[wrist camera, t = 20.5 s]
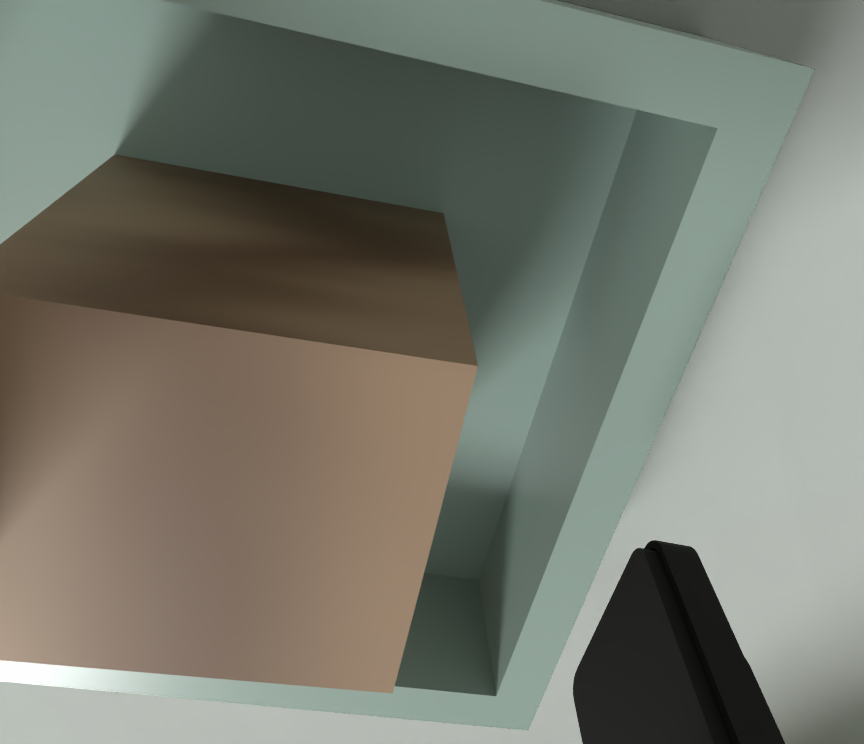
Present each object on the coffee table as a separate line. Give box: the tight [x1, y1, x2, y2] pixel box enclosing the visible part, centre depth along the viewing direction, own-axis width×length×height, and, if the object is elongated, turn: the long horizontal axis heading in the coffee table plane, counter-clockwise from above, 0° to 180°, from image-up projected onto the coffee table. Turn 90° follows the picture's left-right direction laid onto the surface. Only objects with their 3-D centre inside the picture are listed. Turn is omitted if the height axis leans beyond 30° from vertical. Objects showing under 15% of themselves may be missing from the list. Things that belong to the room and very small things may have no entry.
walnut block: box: [0, 154, 478, 694], centre depth 13 cm, size 6×6×6 cm
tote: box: [0, 0, 815, 730], centre depth 14 cm, size 22×14×4 cm, turn 77°
